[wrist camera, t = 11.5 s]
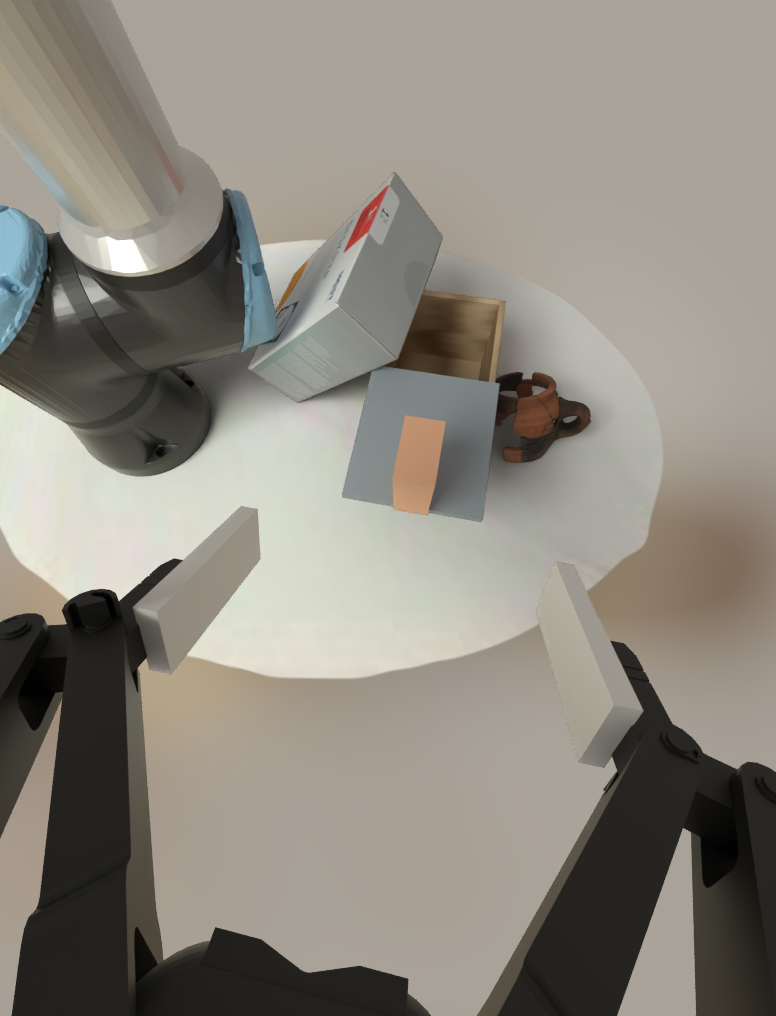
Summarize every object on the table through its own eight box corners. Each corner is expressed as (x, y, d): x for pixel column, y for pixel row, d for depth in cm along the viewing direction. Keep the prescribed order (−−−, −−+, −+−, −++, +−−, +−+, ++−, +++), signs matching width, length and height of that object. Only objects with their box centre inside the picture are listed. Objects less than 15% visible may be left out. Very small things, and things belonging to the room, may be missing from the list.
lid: (341, 502, 35) (325, 466, 27) (373, 370, 39) (367, 304, 31) (480, 527, 34) (505, 497, 26) (497, 388, 38) (524, 325, 30)
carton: (376, 441, 48) (370, 394, 38) (396, 349, 52) (396, 286, 42) (472, 456, 47) (491, 413, 37) (485, 362, 51) (505, 301, 41)
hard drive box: (292, 271, 49) (396, 166, 34) (338, 313, 54) (447, 237, 39) (244, 369, 45) (338, 299, 30) (298, 406, 50) (402, 361, 35)
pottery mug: (479, 466, 47) (477, 406, 41) (485, 424, 53) (485, 368, 48) (587, 468, 43) (601, 403, 38) (580, 423, 50) (592, 361, 44)
